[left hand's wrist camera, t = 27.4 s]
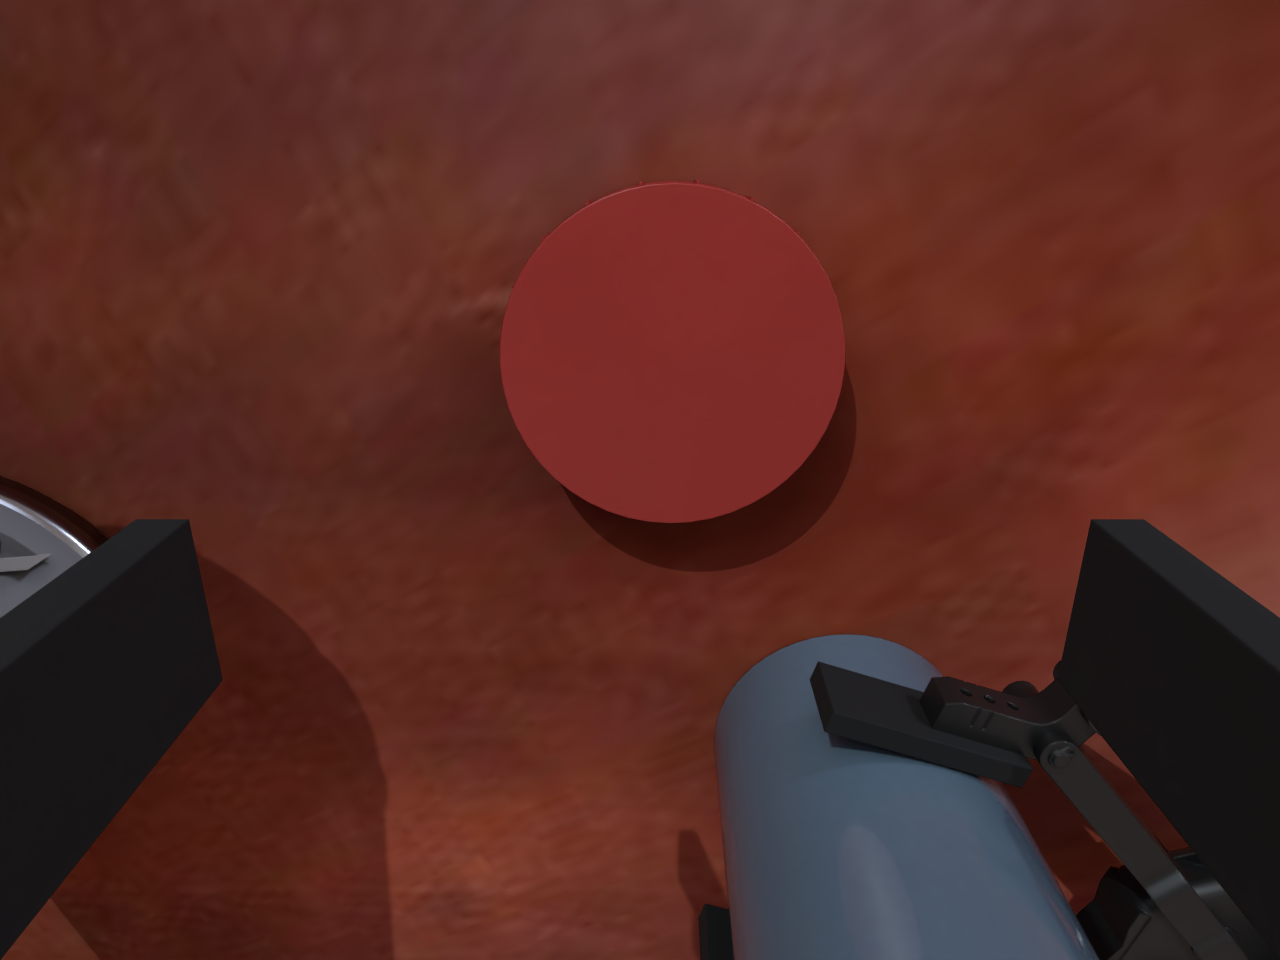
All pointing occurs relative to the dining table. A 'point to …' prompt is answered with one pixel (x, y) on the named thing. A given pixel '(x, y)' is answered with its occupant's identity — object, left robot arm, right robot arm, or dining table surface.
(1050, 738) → the right robot arm
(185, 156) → the dining table surface
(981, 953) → the jar
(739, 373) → the lid
